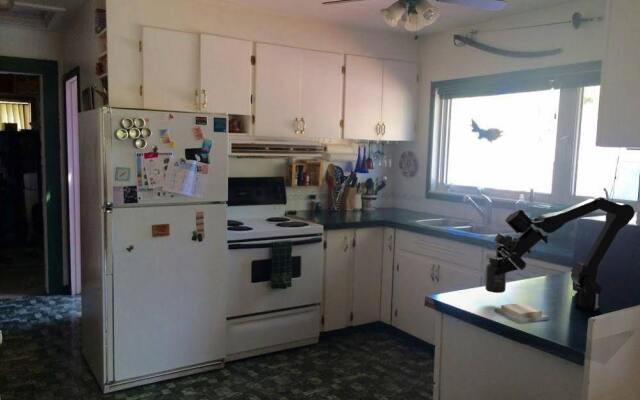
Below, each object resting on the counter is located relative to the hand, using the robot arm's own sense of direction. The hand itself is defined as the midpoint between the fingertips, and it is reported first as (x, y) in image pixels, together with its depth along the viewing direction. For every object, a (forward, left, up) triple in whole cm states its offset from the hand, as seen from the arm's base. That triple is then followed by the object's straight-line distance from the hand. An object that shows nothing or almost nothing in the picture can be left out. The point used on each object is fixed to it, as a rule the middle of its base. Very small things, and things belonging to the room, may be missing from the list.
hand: (492, 272), depth 183 cm
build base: (-13, +5, -11) cm, 18 cm away
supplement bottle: (-1, -1, -7) cm, 7 cm away
